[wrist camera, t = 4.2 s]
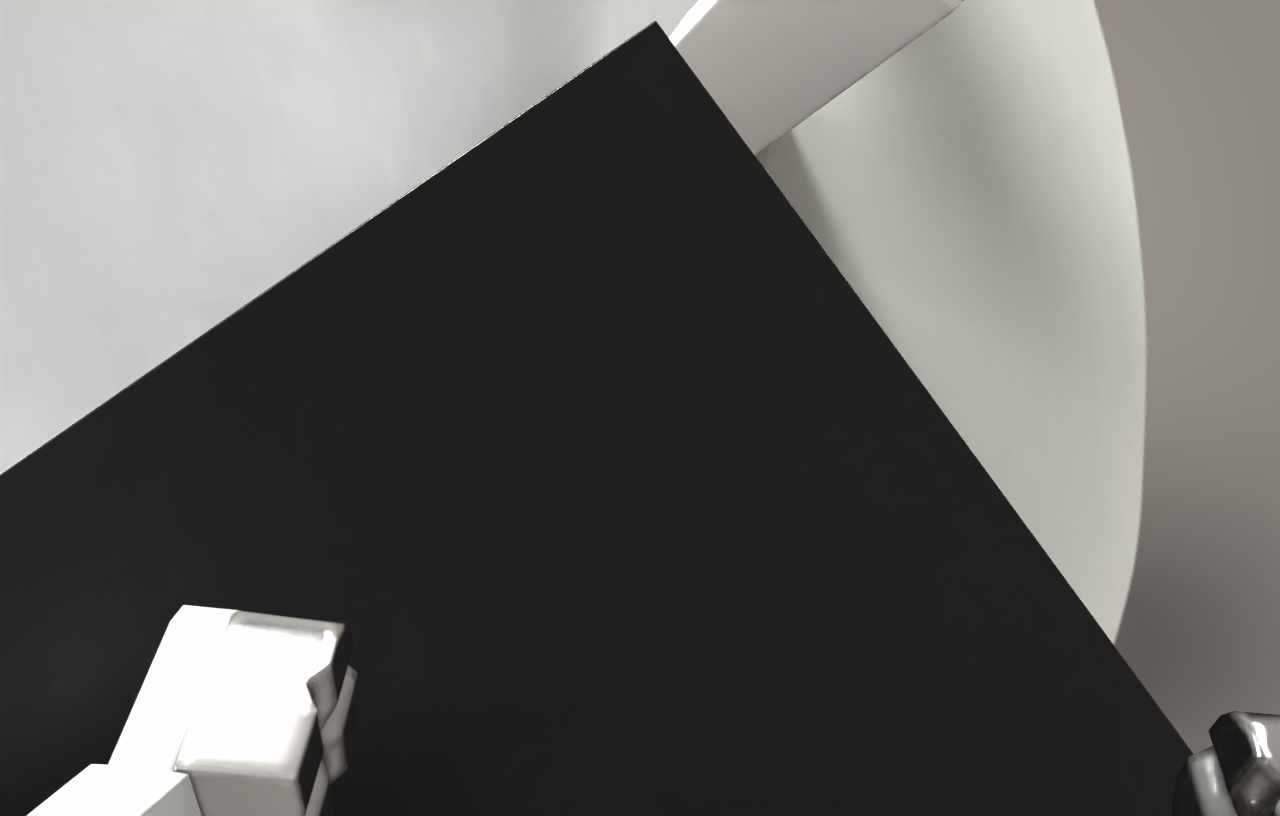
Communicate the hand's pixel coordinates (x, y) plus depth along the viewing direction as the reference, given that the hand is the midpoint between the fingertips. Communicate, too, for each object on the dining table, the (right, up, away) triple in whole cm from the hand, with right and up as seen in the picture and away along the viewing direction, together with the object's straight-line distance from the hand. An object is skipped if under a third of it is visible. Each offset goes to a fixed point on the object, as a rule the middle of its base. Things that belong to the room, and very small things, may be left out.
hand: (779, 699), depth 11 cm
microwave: (-9, -12, +38) cm, 41 cm away
